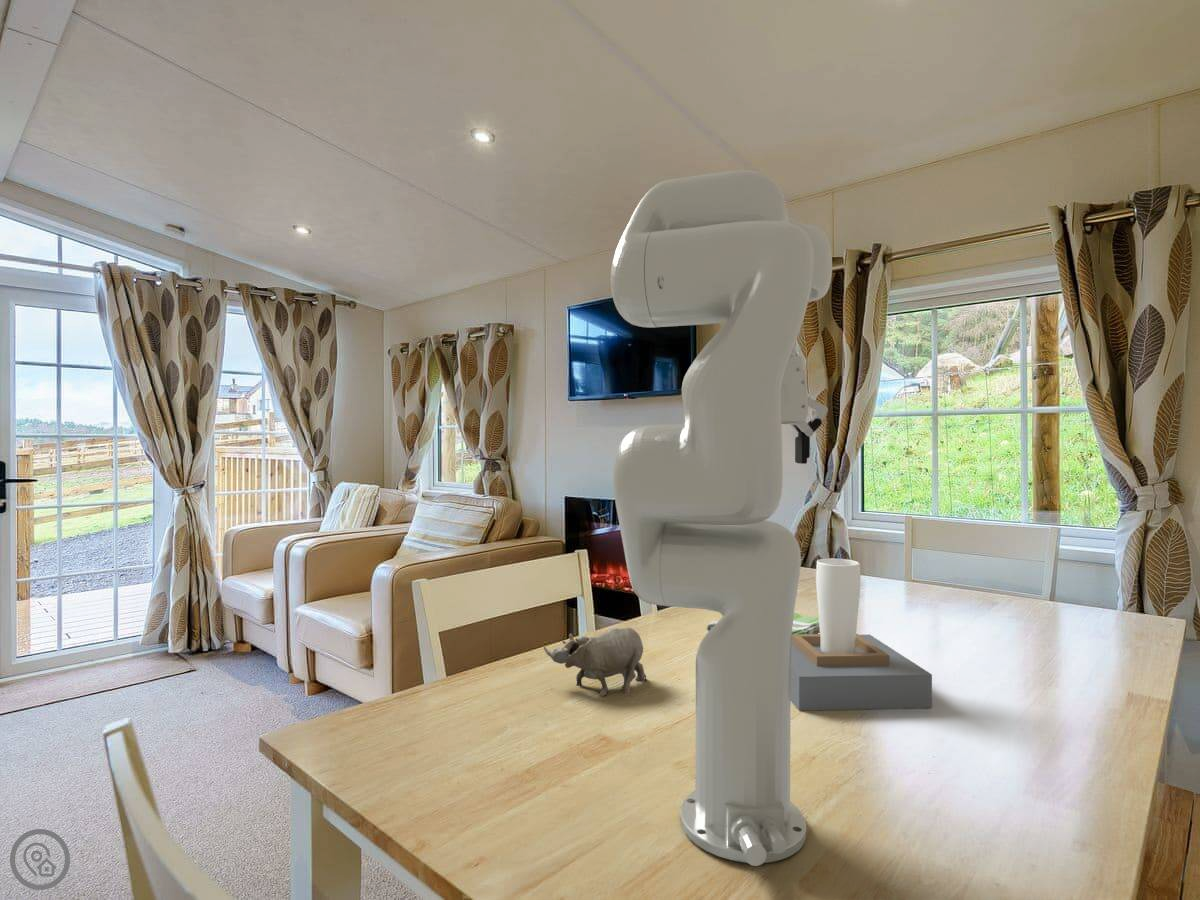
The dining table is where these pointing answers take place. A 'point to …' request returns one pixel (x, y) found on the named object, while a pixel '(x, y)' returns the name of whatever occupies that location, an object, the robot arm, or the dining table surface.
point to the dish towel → (795, 625)
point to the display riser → (855, 677)
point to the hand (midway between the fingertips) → (769, 463)
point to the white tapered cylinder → (837, 604)
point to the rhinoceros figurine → (604, 657)
